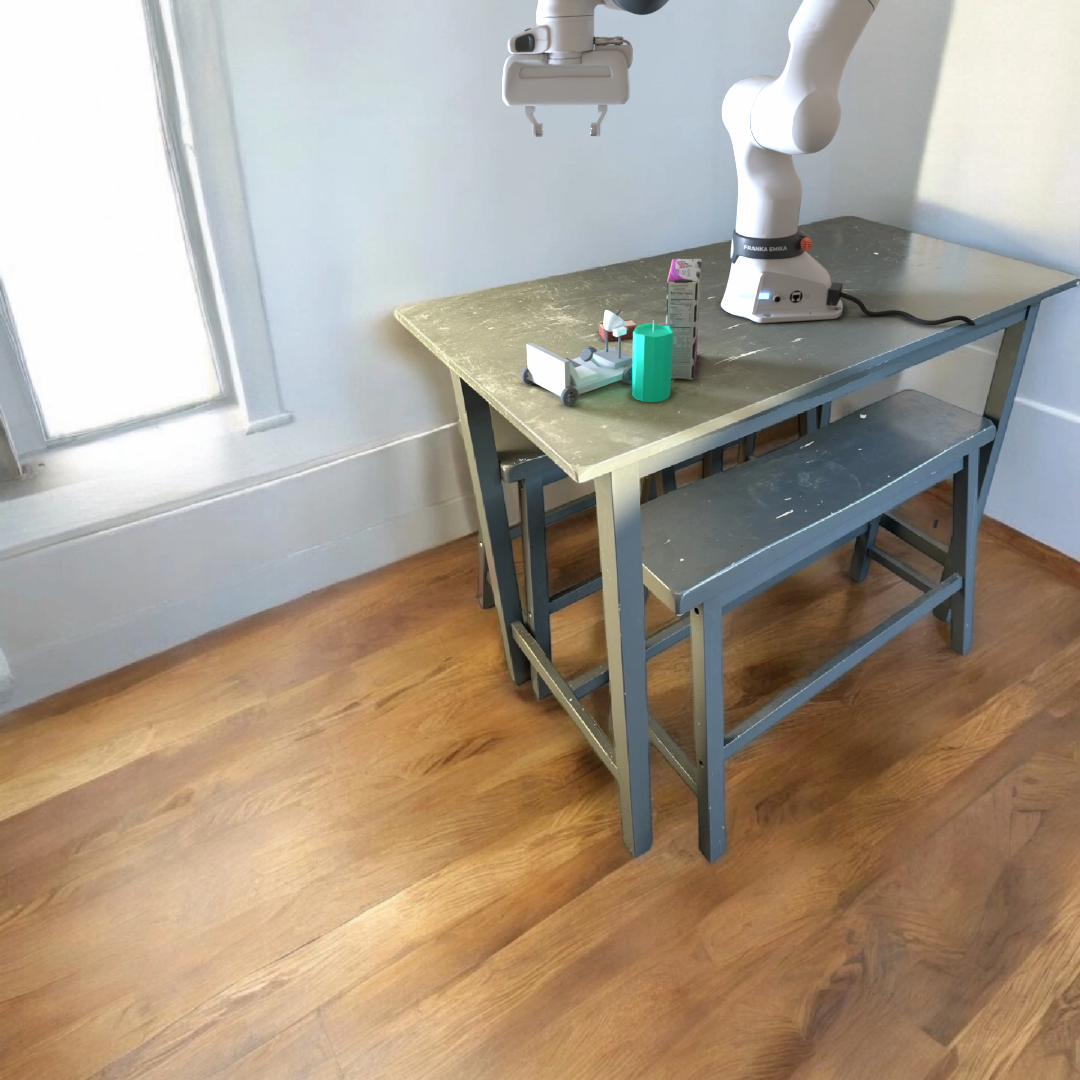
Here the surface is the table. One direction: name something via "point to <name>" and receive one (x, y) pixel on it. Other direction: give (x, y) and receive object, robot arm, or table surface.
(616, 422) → the table surface
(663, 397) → the candle
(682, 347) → the candy bar box
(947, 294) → the table surface
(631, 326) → the matchbox
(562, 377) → the toy car
